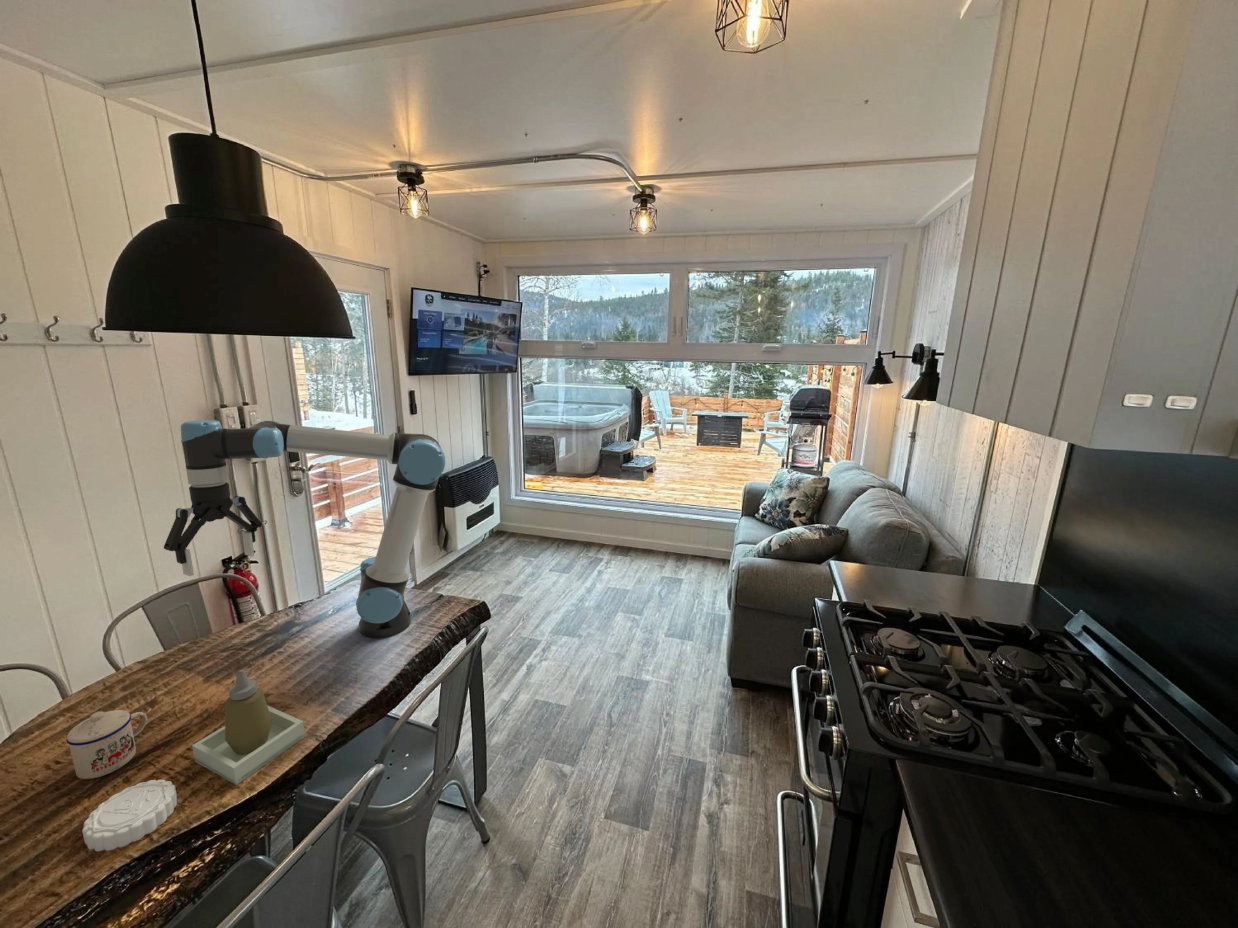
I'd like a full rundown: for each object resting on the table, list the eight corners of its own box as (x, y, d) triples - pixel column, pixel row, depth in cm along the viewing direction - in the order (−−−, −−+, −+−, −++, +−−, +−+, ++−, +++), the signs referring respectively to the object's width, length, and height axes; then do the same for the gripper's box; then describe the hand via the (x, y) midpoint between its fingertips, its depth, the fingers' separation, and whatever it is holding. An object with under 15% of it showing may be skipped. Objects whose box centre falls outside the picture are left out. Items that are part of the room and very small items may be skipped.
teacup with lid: (94, 785, 94) (82, 735, 92) (62, 774, 96) (51, 724, 94) (164, 741, 106) (156, 694, 103) (135, 732, 108) (126, 686, 106)
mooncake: (194, 794, 94) (192, 778, 93) (130, 855, 82) (126, 837, 81) (136, 789, 94) (133, 774, 93) (64, 849, 82) (59, 832, 82)
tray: (264, 717, 113) (262, 703, 112) (305, 736, 108) (303, 721, 107) (194, 761, 101) (191, 745, 100) (236, 784, 95) (233, 767, 95)
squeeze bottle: (218, 752, 102) (206, 677, 98) (257, 726, 109) (247, 656, 106) (244, 764, 99) (232, 687, 96) (282, 736, 107) (273, 664, 103)
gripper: (253, 472, 130) (262, 545, 134) (134, 493, 107) (150, 580, 112) (271, 475, 127) (280, 550, 132) (153, 497, 105) (168, 587, 109)
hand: (220, 564), depth 122 cm, fingers open, 13 cm apart
